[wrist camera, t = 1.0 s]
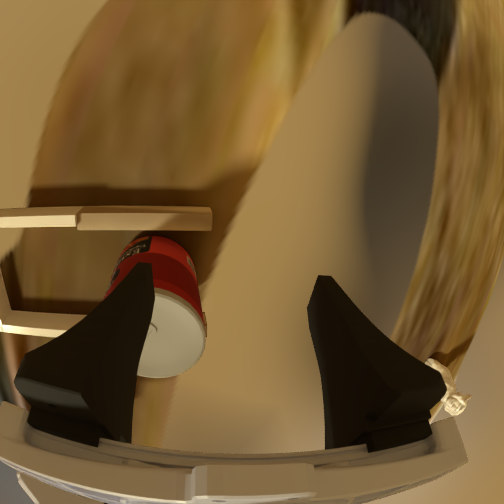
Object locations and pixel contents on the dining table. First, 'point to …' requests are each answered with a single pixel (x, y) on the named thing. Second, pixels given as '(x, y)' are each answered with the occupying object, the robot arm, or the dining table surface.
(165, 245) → the canned food
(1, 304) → the open frame
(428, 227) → the dining table surface
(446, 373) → the white creature statuette
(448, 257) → the dining table surface
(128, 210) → the rail channel
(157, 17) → the dining table surface
